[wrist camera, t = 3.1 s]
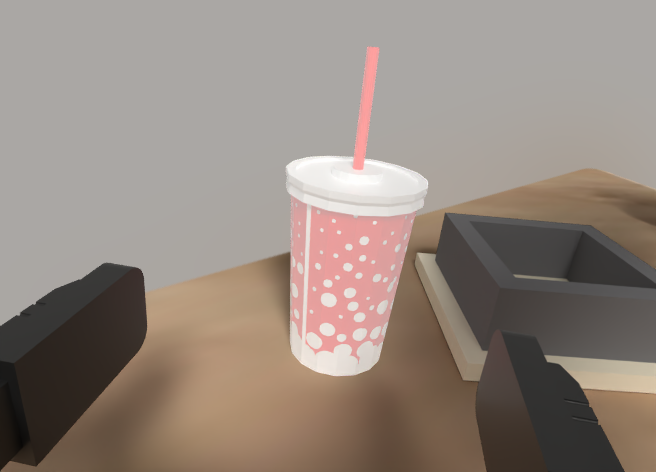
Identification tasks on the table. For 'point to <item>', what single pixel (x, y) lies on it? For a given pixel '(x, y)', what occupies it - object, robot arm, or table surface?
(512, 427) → the robot arm
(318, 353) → the beverage cup
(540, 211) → the table surface
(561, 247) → the grey tray on board
